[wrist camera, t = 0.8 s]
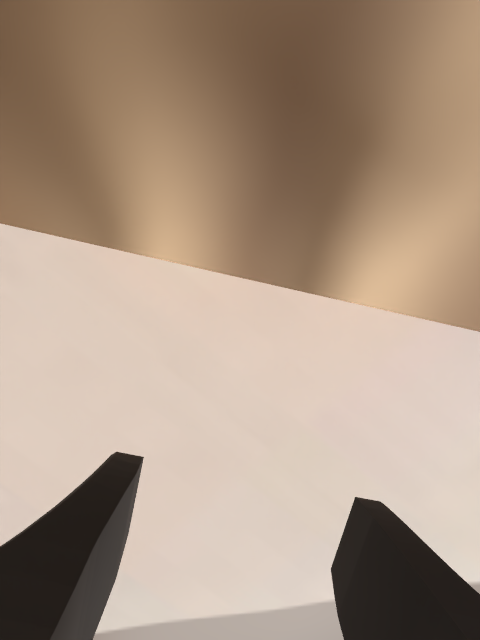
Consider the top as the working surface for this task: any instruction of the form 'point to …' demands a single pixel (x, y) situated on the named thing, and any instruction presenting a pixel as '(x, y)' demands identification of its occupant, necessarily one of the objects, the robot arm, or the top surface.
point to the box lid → (255, 140)
